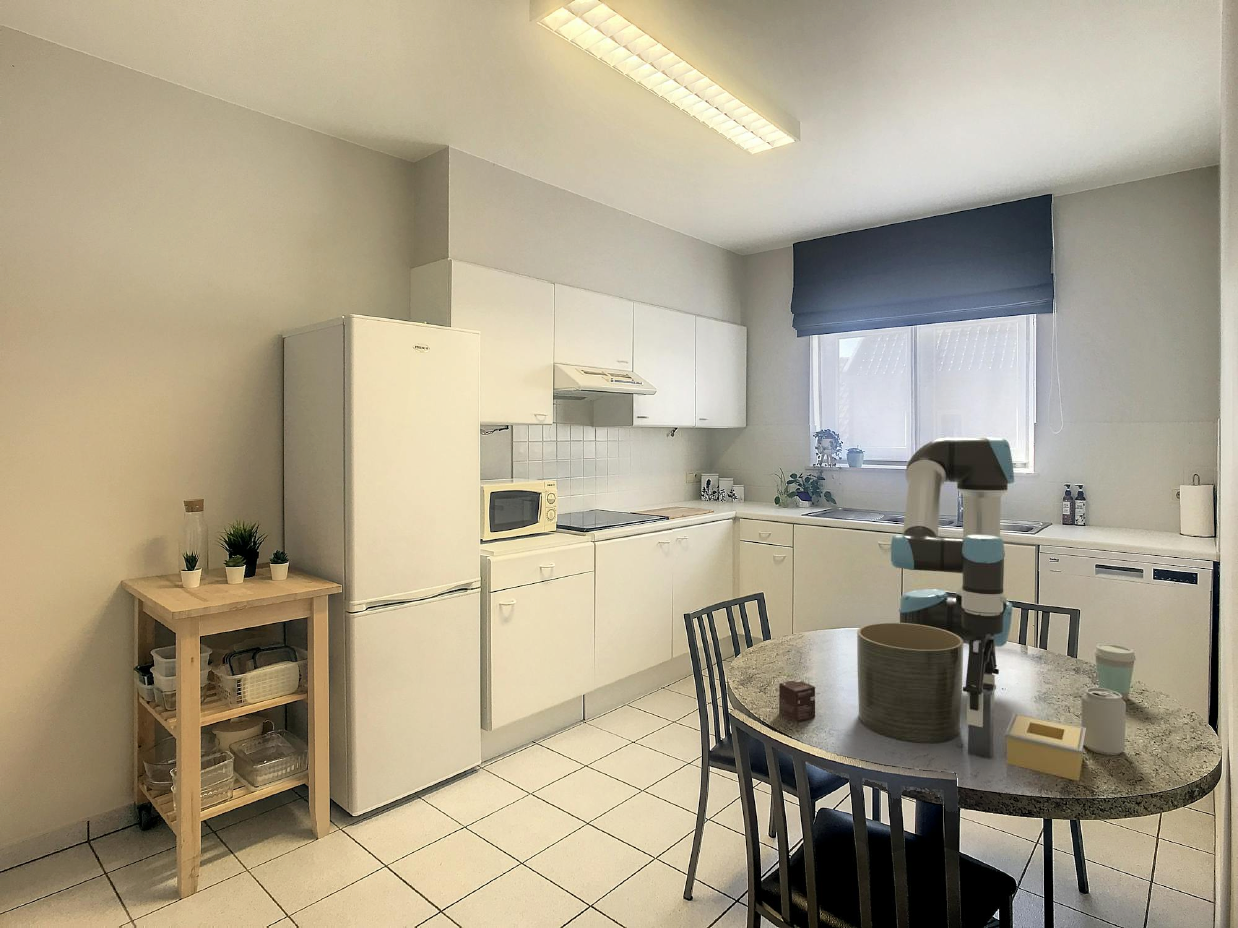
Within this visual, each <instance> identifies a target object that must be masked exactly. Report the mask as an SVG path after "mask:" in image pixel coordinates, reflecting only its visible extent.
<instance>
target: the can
mask: <svg viewBox="0 0 1238 928" xmlns="http://www.w3.org/2000/svg"><path fill="white" fill-rule="evenodd" d="M1121 698H1122V695H1121V694H1119V693H1118V692H1115V691H1112V690H1109V689H1104V688H1099V687H1088V688H1086V689H1085V693H1084V694H1082V696H1081V720H1080V721H1081V722H1080V723H1081V724H1080V725H1081V726H1080V727H1084V728H1086V734H1085V739H1084V745H1083V746H1085V748H1087V749H1088V750H1090V751H1091V752H1094V753H1097V754H1099V755H1100V754H1101V755H1106V756H1118V755H1120V753H1123V752H1124V751H1126V750H1125V749H1126V719H1127V718H1126V717H1127V716H1126V715H1127V714H1126V713H1127V710H1126V709H1127V707H1126V706H1127V703H1126V702H1125V700H1122V699H1121Z"/></svg>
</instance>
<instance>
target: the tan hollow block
mask: <svg viewBox="0 0 1238 928" xmlns="http://www.w3.org/2000/svg"><path fill="white" fill-rule="evenodd" d="M1085 734H1086V728H1084V727H1081V726H1078V725H1074V724H1068V723H1064V722H1059V721H1054V720H1049V719H1044V718H1039V717H1034V716H1029V715H1025V714H1021V713H1015V712H1014V713H1013V714H1012V717H1011V718H1010V721H1009V723H1008V726H1007V728H1006V730H1005V732H1004V738H1006V765H1007V764H1009V765H1011V766H1016V767H1020V768H1024V769H1029V770H1032V771H1036V772H1040V773H1045V774H1048V775H1053V776H1056V777H1057V776H1058V777H1061V778H1065V779H1070V780H1074V781H1078V782H1080V777H1081V770H1082V766H1083V760H1084V746H1085V745H1084V739H1085Z"/></svg>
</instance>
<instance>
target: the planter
mask: <svg viewBox="0 0 1238 928" xmlns="http://www.w3.org/2000/svg"><path fill="white" fill-rule="evenodd" d="M856 634H857V635H856V637H857V638H856V639H857V640H856V641H857V644H856V646H857V647H856V649H857V650H856V651H857V652H856V653H857V654H856V655H857V656H856V657H857V662H856V665H857V691H858V692H857V694H858V696H857V697H858V698H857V699H858V717H859V721H860V722H861V723H862V724H863V725H864V726H865V727H866V728H867V729H869V730H871V731H873V732H875V733H876V734H880V735H882V736H885V737H888V738H892V739H894V740H895V739H896V740H899V741H900V740H901V741H904V742H913V743H923V744H924V743H927V744H928V743H929V744H931V743H932V744H933V743H942V742H947V741H950V740H952V739H955V738H956V737H958V736H959V734H960V731H961V713H962V698H963V697H962V695H963V693H962V692H963V674H964V672H963V669H964V668H963V667H964V664H963V663H964V643H963V640H962V638H960V637H959V636H958V635H956V634H954V633H951V632H949V631H946V630H942V629H939V628H935V627H930V626H924V625H918V624H908V623H900V622H879V623H878V622H877V623H870V624H869V623H868V624H866V625H863V626H861V627H859V628H858V629H857V632H856Z"/></svg>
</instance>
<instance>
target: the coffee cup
mask: <svg viewBox="0 0 1238 928" xmlns="http://www.w3.org/2000/svg"><path fill="white" fill-rule="evenodd" d="M1093 654H1094V656H1095V663H1096V673H1097V681H1098V688H1104V689H1109V690H1112V691H1115V692H1118V693H1119V694H1121V695H1122V698H1121V699H1122V700H1123V701H1127V700H1129V696H1130V690H1131V685H1132V678H1133V671H1134V665H1135V661H1137V659H1136V655H1135V652H1134V650H1133V649H1132V648H1129V647H1126V646H1122V645H1117V644H1110V643H1109V644H1107V643H1105V644H1104V643H1102V644H1097V645H1096V646H1095V648H1094V652H1093Z"/></svg>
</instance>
